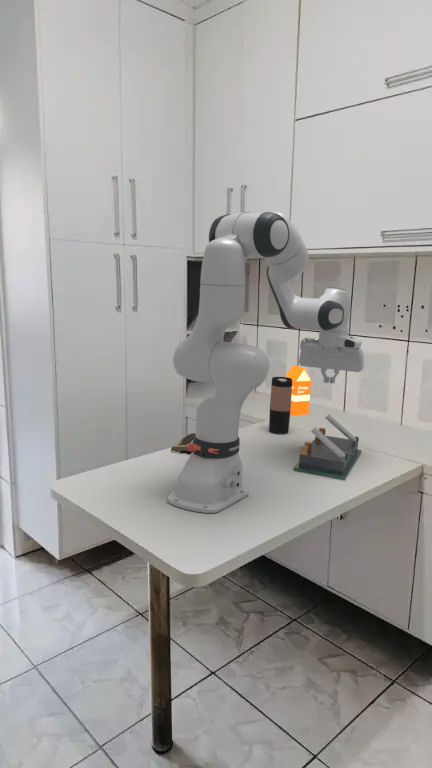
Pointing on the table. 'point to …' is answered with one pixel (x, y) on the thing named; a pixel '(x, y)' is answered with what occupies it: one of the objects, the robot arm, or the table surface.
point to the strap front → (328, 442)
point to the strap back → (340, 428)
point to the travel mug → (280, 405)
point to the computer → (183, 444)
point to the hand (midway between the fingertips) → (329, 382)
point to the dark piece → (328, 457)
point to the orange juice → (299, 390)
